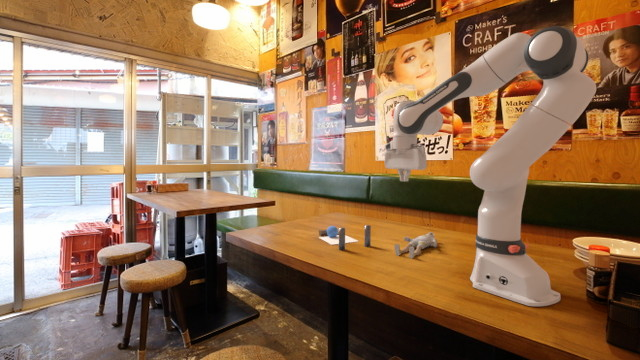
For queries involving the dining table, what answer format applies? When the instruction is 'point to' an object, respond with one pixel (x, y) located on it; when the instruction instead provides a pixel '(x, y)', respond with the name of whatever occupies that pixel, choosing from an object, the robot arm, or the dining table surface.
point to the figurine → (416, 244)
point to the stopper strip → (323, 232)
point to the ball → (332, 231)
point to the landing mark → (337, 240)
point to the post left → (341, 238)
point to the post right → (367, 236)
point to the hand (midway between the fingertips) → (404, 181)
